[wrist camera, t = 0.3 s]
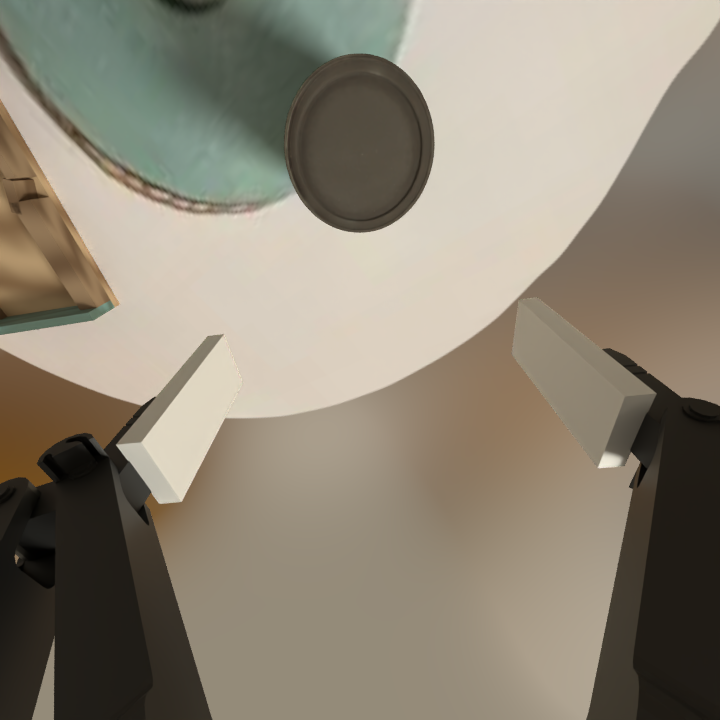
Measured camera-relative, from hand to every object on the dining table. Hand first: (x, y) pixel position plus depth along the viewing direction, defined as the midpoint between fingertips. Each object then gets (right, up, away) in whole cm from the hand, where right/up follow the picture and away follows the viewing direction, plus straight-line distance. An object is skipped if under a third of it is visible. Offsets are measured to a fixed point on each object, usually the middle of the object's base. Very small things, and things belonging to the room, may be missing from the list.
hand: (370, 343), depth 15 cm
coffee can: (-1, +21, +20) cm, 29 cm away
